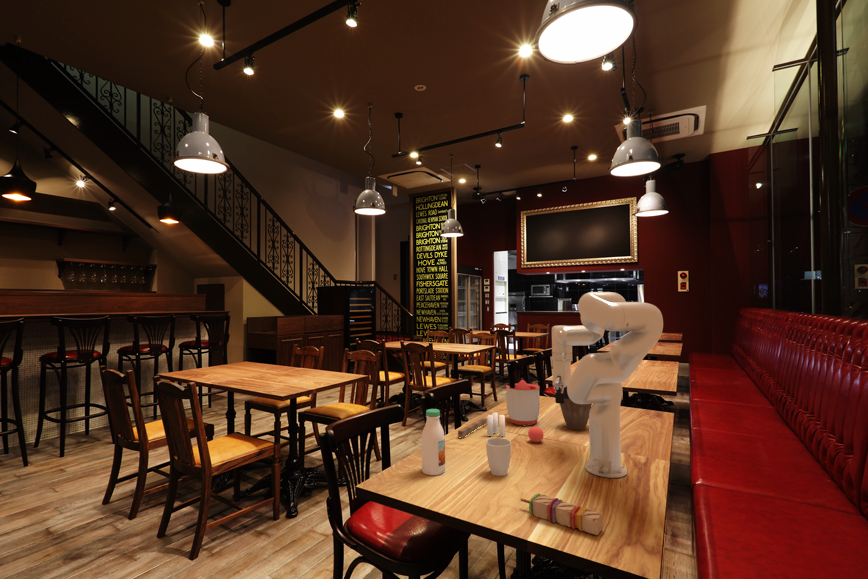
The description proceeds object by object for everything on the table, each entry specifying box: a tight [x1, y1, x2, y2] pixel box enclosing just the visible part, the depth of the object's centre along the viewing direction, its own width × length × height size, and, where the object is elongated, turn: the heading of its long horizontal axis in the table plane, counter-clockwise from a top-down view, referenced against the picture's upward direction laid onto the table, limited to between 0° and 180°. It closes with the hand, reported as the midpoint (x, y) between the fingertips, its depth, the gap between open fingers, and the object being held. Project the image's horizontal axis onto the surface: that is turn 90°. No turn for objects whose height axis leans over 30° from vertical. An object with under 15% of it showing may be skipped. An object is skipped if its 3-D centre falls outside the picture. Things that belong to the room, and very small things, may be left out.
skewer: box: [520, 493, 604, 536], centre depth 103 cm, size 21×6×5 cm, turn 50°
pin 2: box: [491, 411, 499, 434], centre depth 176 cm, size 2×2×8 cm
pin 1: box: [486, 414, 494, 437], centre depth 171 cm, size 2×2×8 cm
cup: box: [485, 437, 512, 477], centre depth 133 cm, size 8×8×10 cm
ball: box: [527, 426, 545, 443], centre depth 163 cm, size 6×6×6 cm
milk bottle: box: [421, 408, 446, 476], centre depth 135 cm, size 8×8×20 cm
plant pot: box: [559, 398, 593, 432], centre depth 181 cm, size 15×15×16 cm
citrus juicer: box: [505, 379, 541, 426], centre depth 192 cm, size 16×17×20 cm
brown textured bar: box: [457, 417, 487, 439], centre depth 178 cm, size 24×2×3 cm, turn 147°
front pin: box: [498, 414, 506, 437], centre depth 171 cm, size 2×2×8 cm
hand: (563, 400), depth 160 cm, fingers open, 9 cm apart
